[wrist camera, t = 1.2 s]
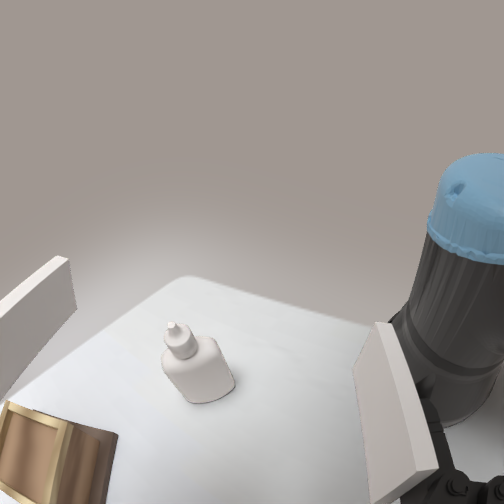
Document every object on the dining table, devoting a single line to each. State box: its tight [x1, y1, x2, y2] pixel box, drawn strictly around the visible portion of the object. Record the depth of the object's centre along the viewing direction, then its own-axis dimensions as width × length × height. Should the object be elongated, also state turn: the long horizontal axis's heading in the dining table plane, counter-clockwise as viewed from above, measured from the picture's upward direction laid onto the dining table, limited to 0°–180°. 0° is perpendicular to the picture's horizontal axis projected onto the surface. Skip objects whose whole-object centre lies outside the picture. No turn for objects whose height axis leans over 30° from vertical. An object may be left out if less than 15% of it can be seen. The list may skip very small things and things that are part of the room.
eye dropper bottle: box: [161, 321, 235, 403], centre depth 27 cm, size 4×6×12 cm
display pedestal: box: [0, 400, 118, 504], centre depth 20 cm, size 14×14×7 cm
